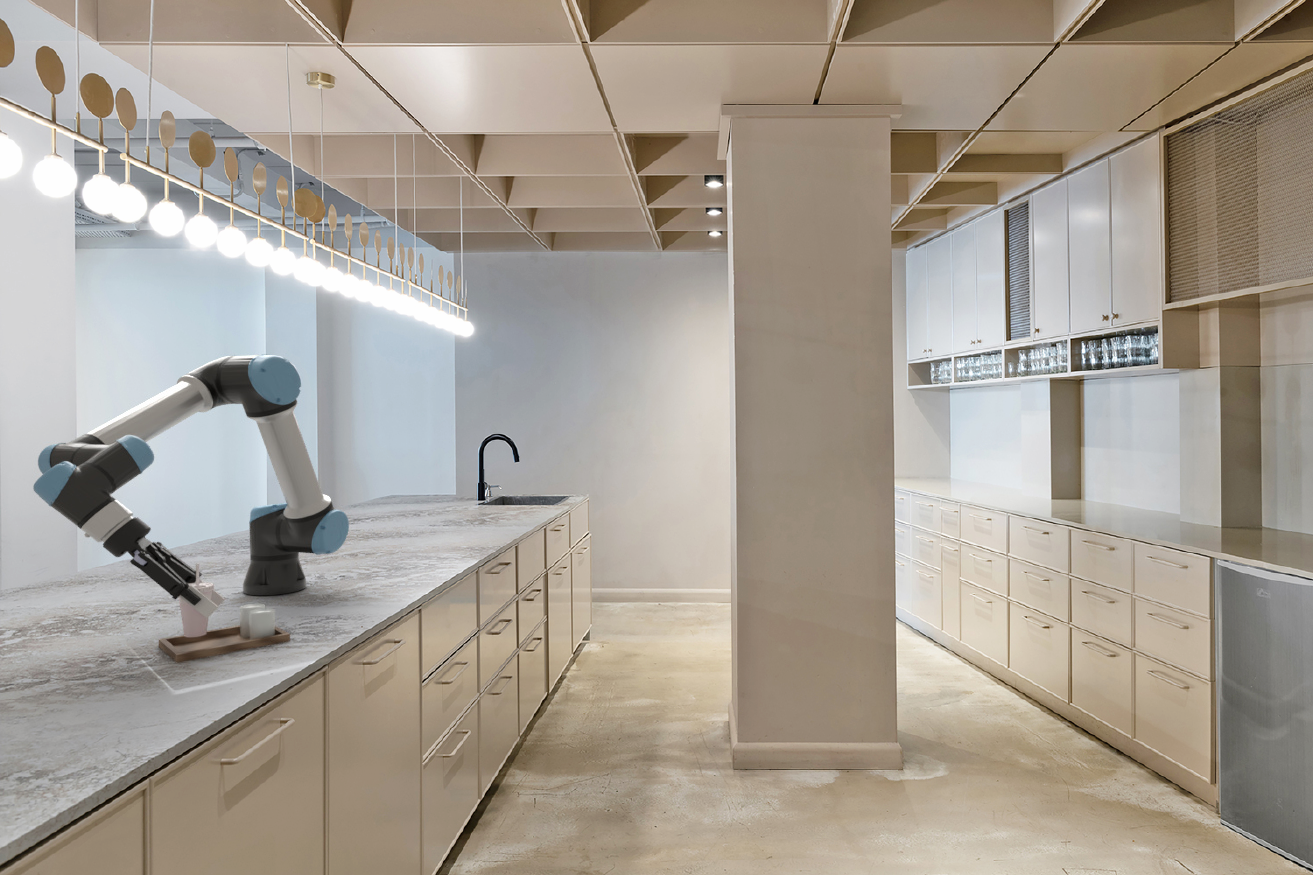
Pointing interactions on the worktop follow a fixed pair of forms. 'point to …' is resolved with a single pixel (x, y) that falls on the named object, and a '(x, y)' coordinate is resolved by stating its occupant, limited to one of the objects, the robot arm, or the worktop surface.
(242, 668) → the worktop surface
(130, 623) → the worktop surface
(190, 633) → the smoothie
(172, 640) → the tray
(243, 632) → the white rounded cylinder
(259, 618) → the white domed cylinder
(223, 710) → the worktop surface
